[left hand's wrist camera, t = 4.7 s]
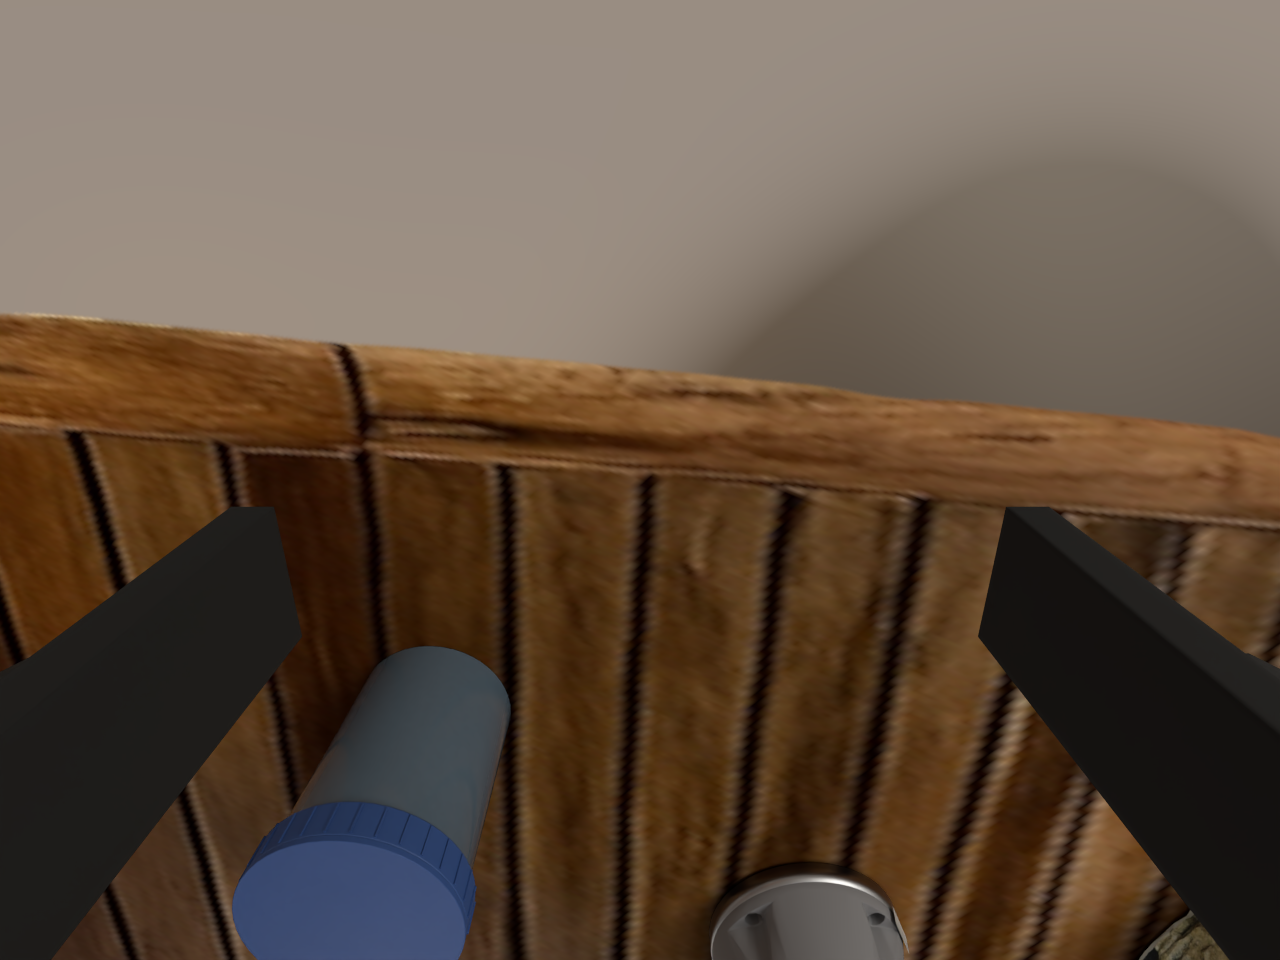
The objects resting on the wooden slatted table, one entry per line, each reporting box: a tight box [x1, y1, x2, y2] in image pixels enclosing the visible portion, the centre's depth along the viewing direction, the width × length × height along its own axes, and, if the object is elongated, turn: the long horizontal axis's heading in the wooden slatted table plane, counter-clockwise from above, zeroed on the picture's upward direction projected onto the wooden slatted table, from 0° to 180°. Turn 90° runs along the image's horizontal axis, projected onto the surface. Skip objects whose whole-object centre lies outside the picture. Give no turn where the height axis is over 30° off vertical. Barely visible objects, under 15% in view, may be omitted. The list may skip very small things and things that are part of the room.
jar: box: [289, 646, 511, 870], centre depth 41 cm, size 10×10×15 cm
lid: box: [232, 802, 476, 960], centre depth 35 cm, size 11×12×2 cm
